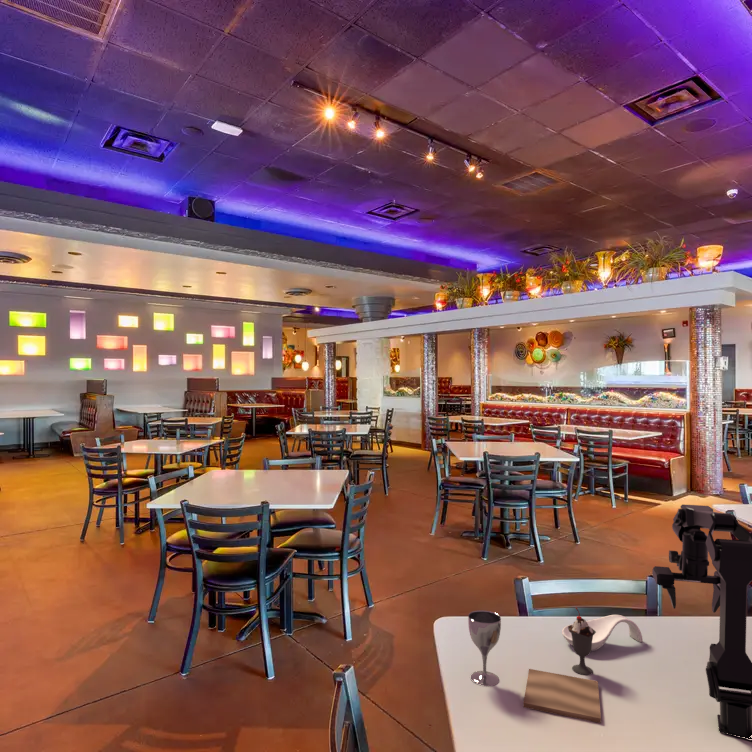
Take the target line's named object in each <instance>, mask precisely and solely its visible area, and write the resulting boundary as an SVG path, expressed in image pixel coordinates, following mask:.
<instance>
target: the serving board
mask: <svg viewBox="0 0 752 752" xmlns="http://www.w3.org/2000/svg"><path fill="white" fill-rule="evenodd" d="M524 692H525V693H524V698H523V706H522V707H523V708H525V709H530V710H535V711H539V712H540V711H541V712H545V713H551V714H554V715H560V716H563V717H564V716H565V717H569V718H574V719H579V720H583V721H589V722H593V723H598V724H601V723H602V717H601V715H602V714H601V704H600V692H599V681H597V680H594V679H589V678H588V679H587V678H581V677H576V676H571V675H565V674H561V673H554V672H550V671H543V670H539V669H538V670H537V669H532V668H528V675H527V679H526V687H525V690H524Z"/></svg>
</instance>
